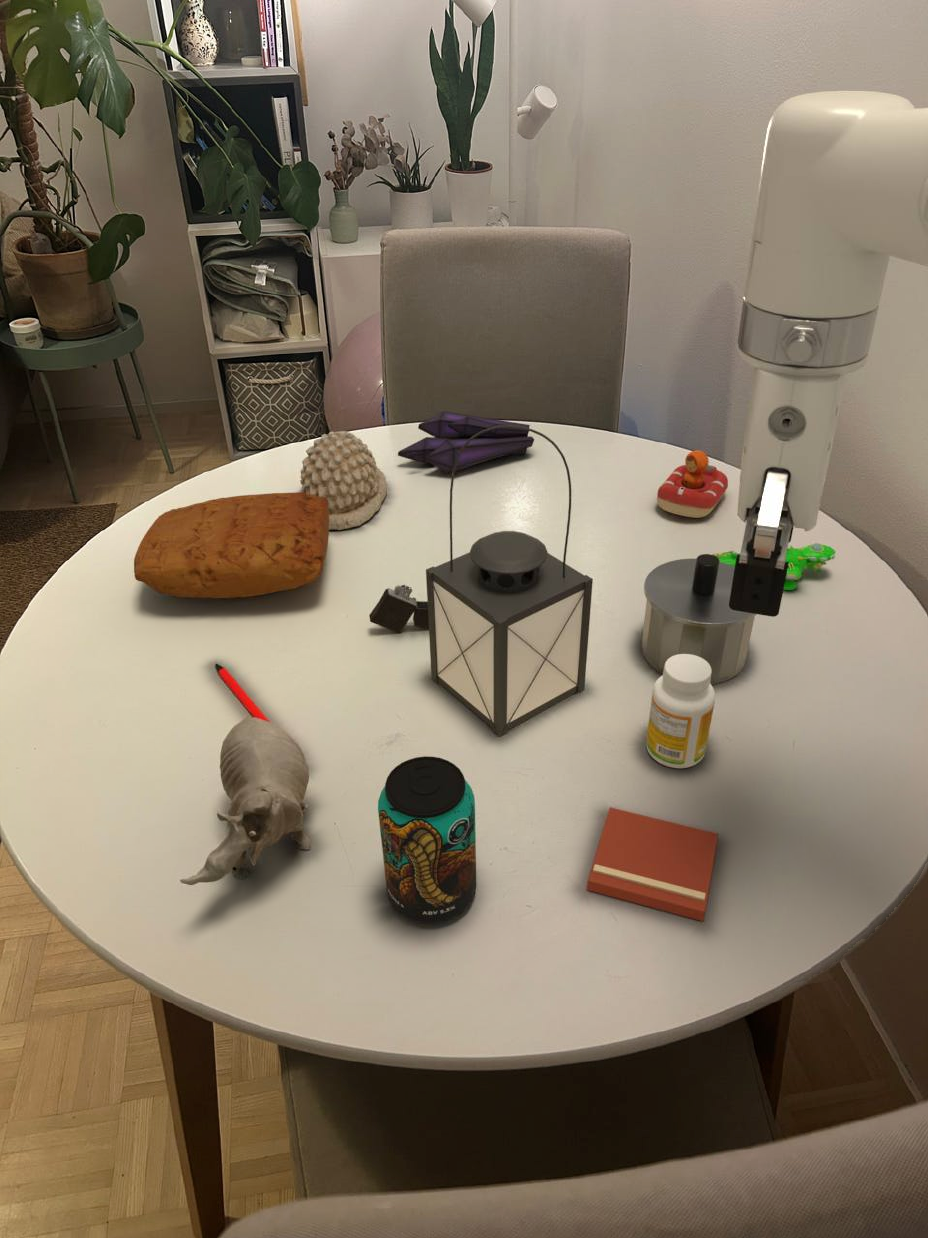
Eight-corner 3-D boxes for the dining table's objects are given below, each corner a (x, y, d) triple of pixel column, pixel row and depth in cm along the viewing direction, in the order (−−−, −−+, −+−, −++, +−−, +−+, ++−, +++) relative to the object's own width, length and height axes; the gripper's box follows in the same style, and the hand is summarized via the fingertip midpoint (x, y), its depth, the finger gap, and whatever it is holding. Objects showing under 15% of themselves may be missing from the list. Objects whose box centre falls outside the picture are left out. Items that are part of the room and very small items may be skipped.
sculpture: (395, 473, 130) (390, 406, 125) (373, 533, 117) (367, 462, 111) (313, 470, 132) (305, 404, 126) (282, 529, 118) (271, 459, 112)
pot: (750, 633, 98) (762, 574, 94) (739, 694, 90) (752, 633, 86) (651, 615, 101) (658, 557, 97) (633, 672, 93) (639, 613, 89)
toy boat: (647, 516, 119) (653, 463, 114) (677, 480, 127) (683, 429, 123) (704, 530, 116) (712, 476, 111) (730, 491, 124) (739, 440, 119)
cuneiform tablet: (343, 539, 116) (336, 482, 111) (324, 618, 102) (316, 557, 97) (170, 541, 116) (157, 484, 112) (129, 619, 103) (111, 559, 98)
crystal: (527, 398, 135) (393, 400, 132) (546, 438, 127) (404, 441, 123) (521, 440, 140) (391, 443, 136) (539, 481, 132) (402, 486, 128)
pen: (297, 773, 83) (296, 764, 82) (212, 668, 96) (210, 660, 95) (306, 769, 83) (305, 760, 83) (220, 665, 96) (218, 657, 95)
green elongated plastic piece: (842, 587, 105) (851, 555, 102) (692, 604, 103) (697, 572, 100) (816, 557, 110) (823, 526, 108) (672, 572, 108) (676, 541, 106)
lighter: (431, 635, 103) (454, 601, 101) (433, 646, 101) (457, 612, 99) (368, 611, 100) (391, 575, 97) (370, 622, 98) (393, 585, 96)
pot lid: (766, 577, 94) (774, 539, 92) (755, 642, 86) (764, 602, 83) (654, 559, 98) (658, 522, 95) (633, 620, 89) (637, 580, 86)
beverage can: (391, 935, 69) (379, 828, 62) (383, 862, 74) (372, 756, 67) (483, 922, 70) (482, 814, 62) (468, 850, 75) (466, 744, 68)
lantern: (585, 690, 91) (606, 428, 75) (499, 738, 86) (501, 467, 69) (513, 637, 99) (518, 388, 82) (429, 679, 93) (416, 421, 77)
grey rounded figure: (333, 730, 83) (285, 691, 69) (333, 886, 79) (282, 879, 65) (250, 735, 84) (186, 698, 70) (246, 890, 80) (176, 885, 66)
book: (716, 843, 75) (719, 831, 74) (703, 921, 69) (705, 909, 68) (608, 816, 78) (610, 804, 77) (586, 890, 72) (587, 878, 71)
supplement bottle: (689, 724, 87) (703, 643, 81) (715, 764, 82) (731, 681, 77) (636, 734, 86) (646, 653, 80) (659, 775, 82) (672, 692, 76)
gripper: (869, 390, 47) (808, 654, 57) (873, 294, 60) (823, 523, 70) (719, 376, 49) (686, 633, 59) (755, 287, 62) (723, 509, 72)
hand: (761, 573), depth 64 cm, fingers open, 9 cm apart
